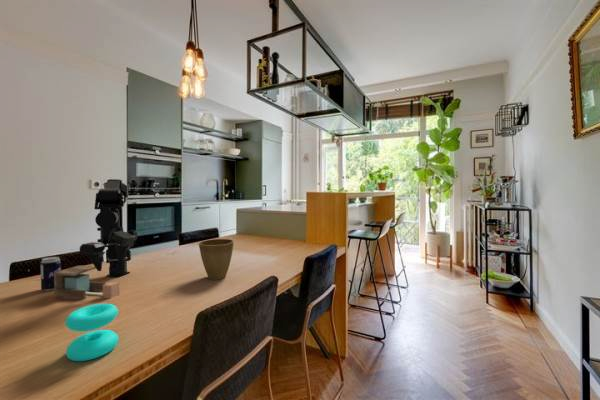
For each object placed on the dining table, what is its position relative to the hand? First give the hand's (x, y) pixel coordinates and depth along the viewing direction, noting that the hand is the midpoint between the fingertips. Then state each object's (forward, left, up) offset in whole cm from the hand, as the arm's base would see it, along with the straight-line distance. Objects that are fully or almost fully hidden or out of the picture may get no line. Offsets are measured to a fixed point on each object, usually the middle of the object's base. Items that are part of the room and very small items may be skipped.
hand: (110, 267), depth 98 cm
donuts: (+30, +24, -11) cm, 40 cm away
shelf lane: (0, -13, -11) cm, 17 cm away
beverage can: (-2, -28, -11) cm, 30 cm away
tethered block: (0, -7, -11) cm, 13 cm away
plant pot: (-27, +28, -11) cm, 40 cm away
